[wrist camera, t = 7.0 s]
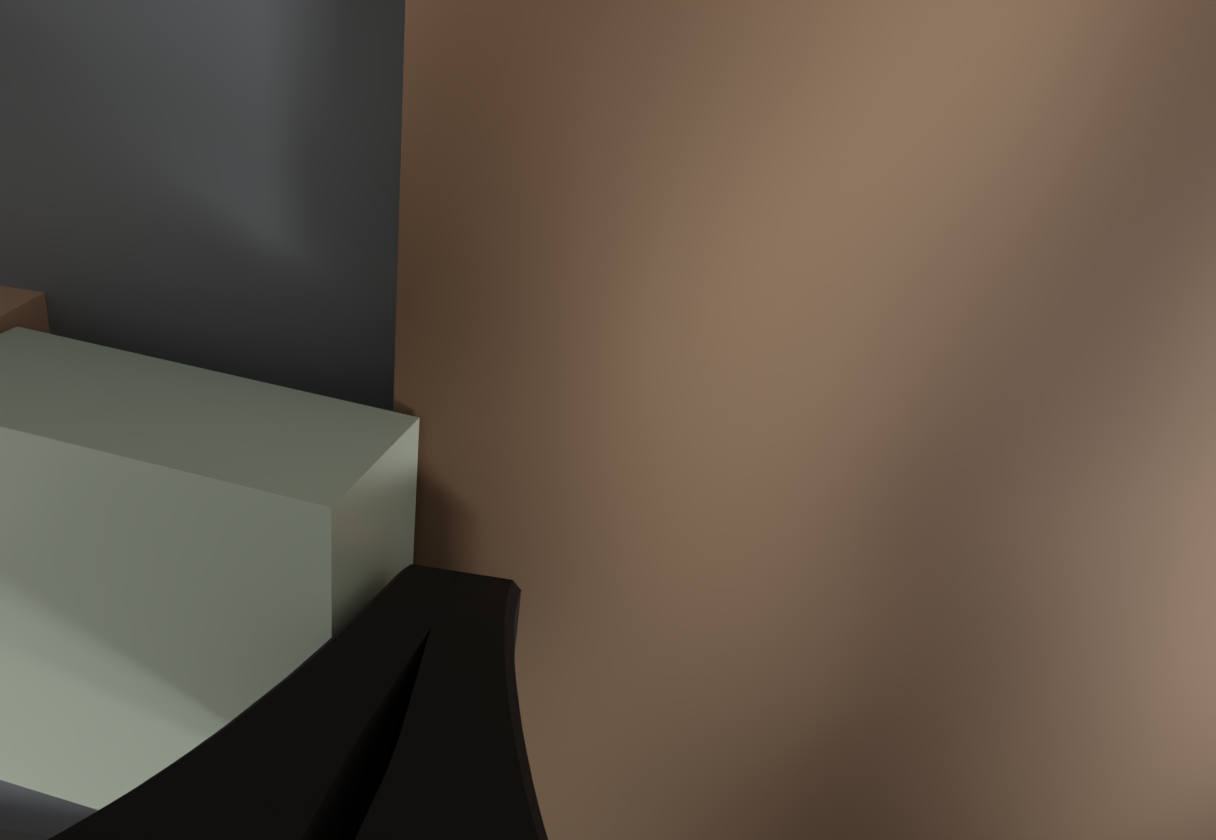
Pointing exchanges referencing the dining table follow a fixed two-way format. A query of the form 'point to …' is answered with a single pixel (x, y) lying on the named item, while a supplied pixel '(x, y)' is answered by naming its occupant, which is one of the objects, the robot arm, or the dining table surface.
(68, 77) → the tray
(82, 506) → the tile sage
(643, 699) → the walnut board
